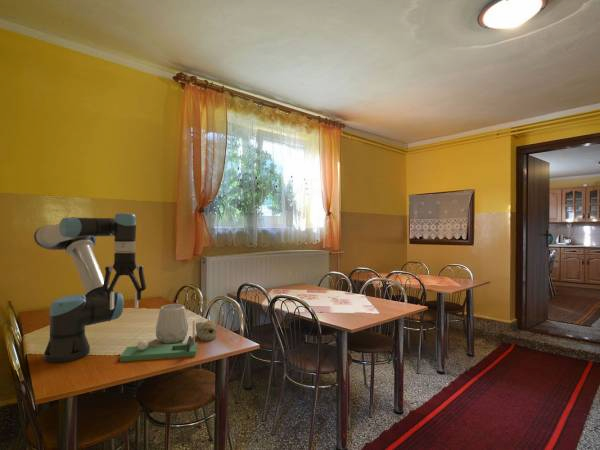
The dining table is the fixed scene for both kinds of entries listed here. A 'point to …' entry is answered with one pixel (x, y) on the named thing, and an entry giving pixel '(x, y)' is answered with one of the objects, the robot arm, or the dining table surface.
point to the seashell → (206, 330)
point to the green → (161, 350)
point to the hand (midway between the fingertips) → (124, 308)
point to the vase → (172, 324)
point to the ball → (142, 345)
